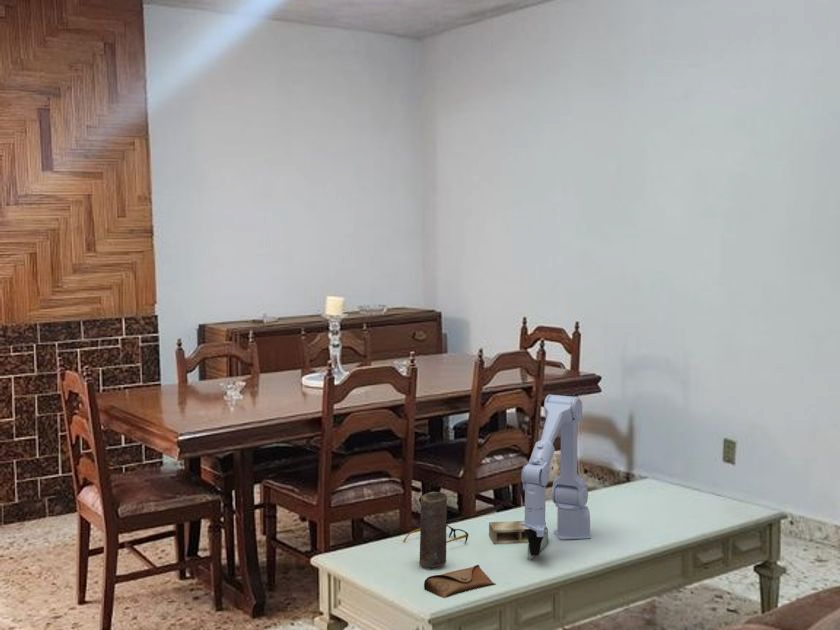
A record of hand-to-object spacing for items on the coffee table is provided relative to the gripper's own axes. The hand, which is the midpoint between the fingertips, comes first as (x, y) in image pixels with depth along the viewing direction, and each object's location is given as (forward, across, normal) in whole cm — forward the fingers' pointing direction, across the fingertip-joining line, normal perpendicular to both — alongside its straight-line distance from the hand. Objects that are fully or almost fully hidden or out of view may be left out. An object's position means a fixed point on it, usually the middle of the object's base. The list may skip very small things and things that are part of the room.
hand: (534, 554), depth 274 cm
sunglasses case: (+3, +17, -24) cm, 29 cm away
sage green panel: (+1, -8, +3) cm, 8 cm away
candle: (+2, +1, -29) cm, 29 cm away
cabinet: (+1, -19, 0) cm, 19 cm away
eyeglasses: (+2, -18, -25) cm, 31 cm away
